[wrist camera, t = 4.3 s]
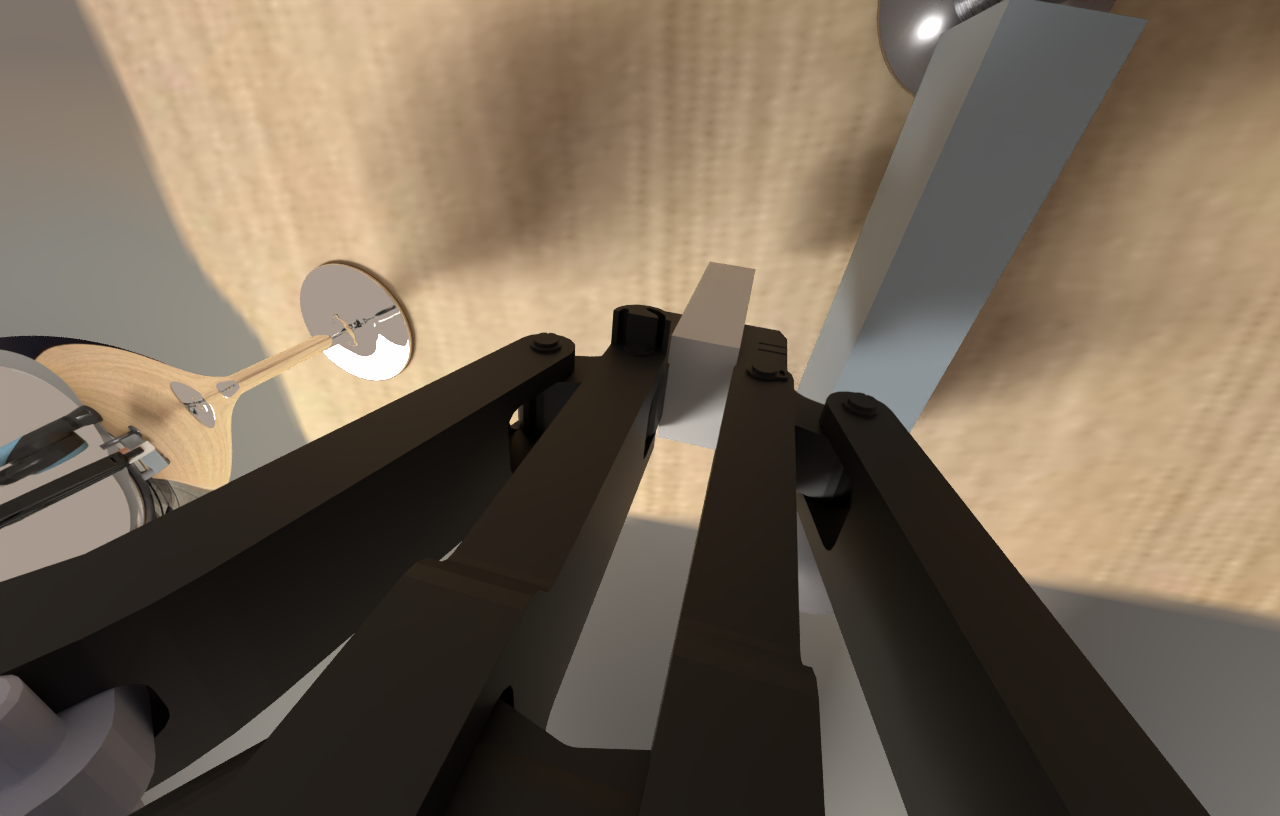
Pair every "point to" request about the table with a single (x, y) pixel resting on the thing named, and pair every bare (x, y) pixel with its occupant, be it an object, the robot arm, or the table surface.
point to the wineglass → (150, 421)
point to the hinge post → (933, 30)
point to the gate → (959, 203)
